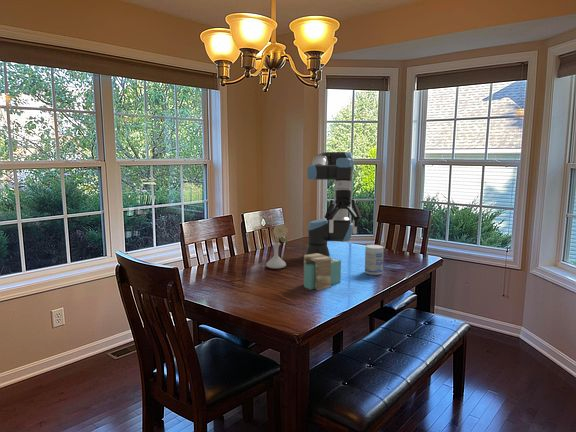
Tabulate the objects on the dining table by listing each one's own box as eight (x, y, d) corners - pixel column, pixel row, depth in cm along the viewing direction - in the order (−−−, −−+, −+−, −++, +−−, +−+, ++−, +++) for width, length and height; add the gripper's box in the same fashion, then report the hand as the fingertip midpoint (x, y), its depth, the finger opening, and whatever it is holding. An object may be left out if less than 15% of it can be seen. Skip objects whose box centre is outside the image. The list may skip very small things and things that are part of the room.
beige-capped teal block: (303, 286, 200) (304, 264, 199) (333, 280, 211) (334, 258, 209) (310, 289, 196) (310, 266, 195) (340, 282, 207) (341, 260, 205)
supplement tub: (379, 276, 219) (380, 249, 217) (362, 274, 223) (362, 247, 221) (384, 272, 227) (385, 245, 225) (368, 269, 232) (368, 243, 230)
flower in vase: (262, 268, 233) (261, 224, 229) (272, 263, 243) (272, 221, 239) (282, 271, 227) (282, 226, 223) (292, 266, 237) (292, 223, 233)
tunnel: (303, 285, 204) (303, 255, 202) (316, 282, 208) (316, 252, 206) (317, 291, 195) (317, 259, 193) (330, 288, 200) (331, 257, 197)
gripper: (318, 190, 210) (317, 232, 210) (361, 188, 194) (360, 234, 194) (326, 191, 216) (326, 232, 215) (369, 189, 199) (369, 234, 199)
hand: (342, 233), depth 204 cm, fingers open, 13 cm apart
